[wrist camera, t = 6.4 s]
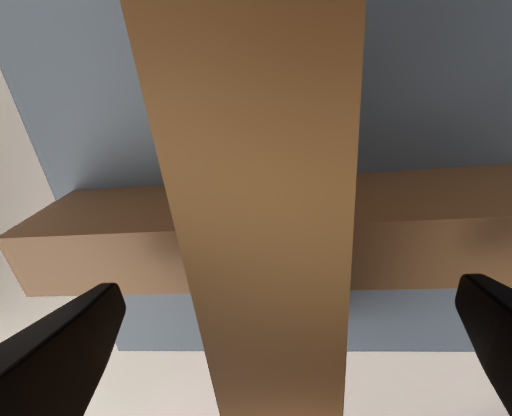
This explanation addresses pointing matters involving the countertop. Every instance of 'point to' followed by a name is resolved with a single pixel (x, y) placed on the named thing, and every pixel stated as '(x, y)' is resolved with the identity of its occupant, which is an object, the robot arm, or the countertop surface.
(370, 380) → the countertop surface
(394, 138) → the joint board
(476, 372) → the countertop surface
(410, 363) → the countertop surface
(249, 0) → the crossbar
